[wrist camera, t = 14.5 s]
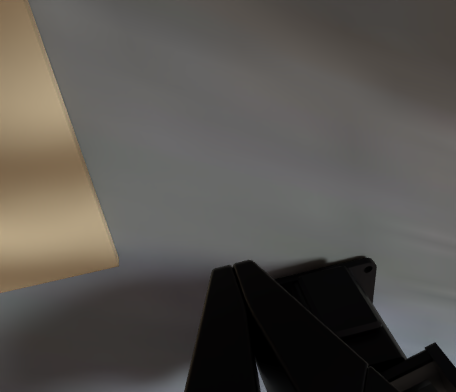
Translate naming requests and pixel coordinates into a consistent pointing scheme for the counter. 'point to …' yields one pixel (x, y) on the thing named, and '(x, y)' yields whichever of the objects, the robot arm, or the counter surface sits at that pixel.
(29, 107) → the mat
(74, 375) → the counter surface
